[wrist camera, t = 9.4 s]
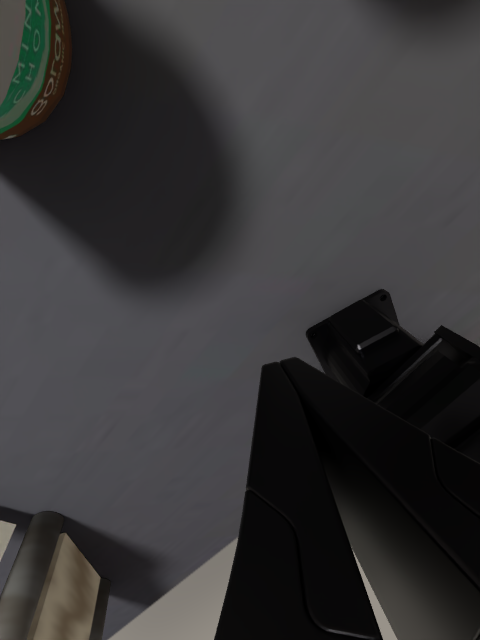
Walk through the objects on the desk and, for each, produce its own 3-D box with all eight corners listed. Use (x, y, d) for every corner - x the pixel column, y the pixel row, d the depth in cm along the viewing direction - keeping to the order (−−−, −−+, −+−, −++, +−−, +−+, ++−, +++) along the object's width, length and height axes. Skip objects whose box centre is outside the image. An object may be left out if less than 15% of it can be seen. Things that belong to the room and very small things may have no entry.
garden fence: (114, 585, 35) (86, 772, 24) (91, 592, 34) (52, 783, 24) (56, 508, 27) (-20, 727, 17) (25, 516, 27) (-71, 742, 17)
